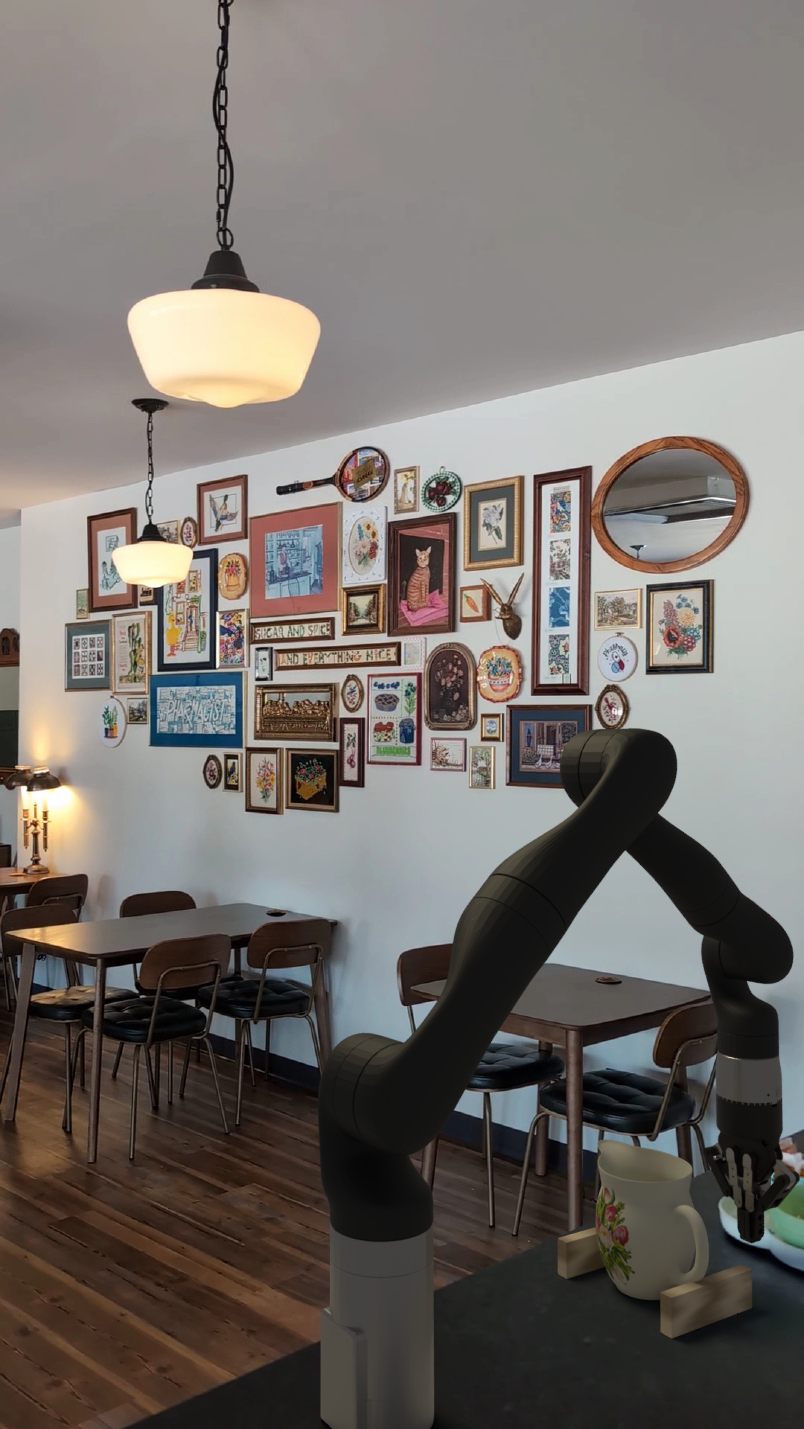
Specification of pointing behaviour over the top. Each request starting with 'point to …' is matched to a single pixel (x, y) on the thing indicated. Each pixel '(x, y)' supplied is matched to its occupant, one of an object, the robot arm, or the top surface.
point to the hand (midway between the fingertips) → (751, 1239)
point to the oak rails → (679, 1304)
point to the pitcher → (648, 1221)
